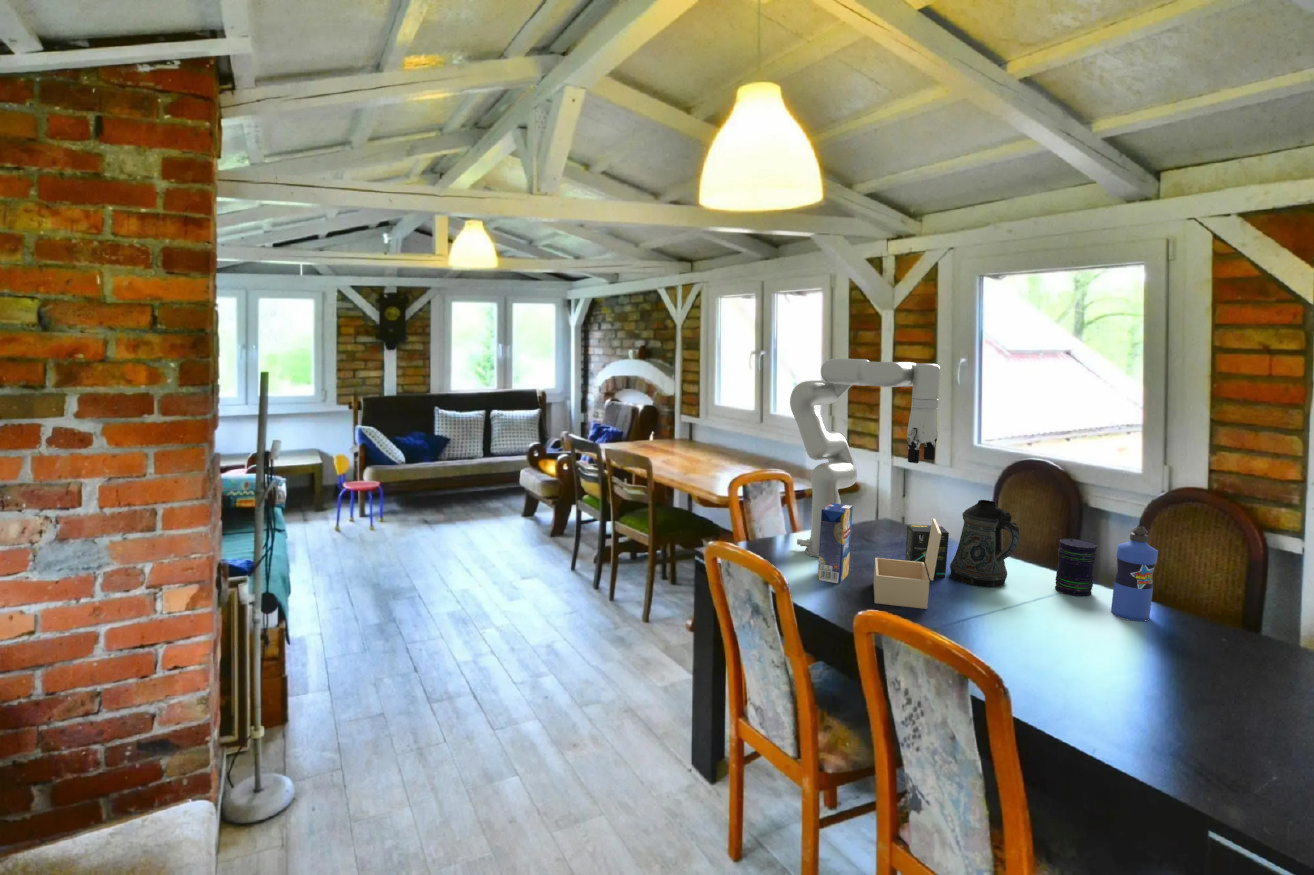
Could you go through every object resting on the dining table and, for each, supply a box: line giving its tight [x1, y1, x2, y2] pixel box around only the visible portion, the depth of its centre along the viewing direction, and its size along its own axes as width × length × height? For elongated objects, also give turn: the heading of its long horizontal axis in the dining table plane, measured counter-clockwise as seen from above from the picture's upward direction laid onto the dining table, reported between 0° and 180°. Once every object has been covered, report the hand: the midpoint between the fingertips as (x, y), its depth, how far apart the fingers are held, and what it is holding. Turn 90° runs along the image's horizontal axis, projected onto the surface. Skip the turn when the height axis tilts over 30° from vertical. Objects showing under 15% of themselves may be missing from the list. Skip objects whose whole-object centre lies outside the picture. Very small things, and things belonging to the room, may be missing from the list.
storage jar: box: [1054, 538, 1098, 598], centre depth 224 cm, size 10×10×15 cm
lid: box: [925, 518, 941, 581], centre depth 213 cm, size 13×18×1 cm
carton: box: [873, 557, 930, 610], centre depth 217 cm, size 14×18×8 cm
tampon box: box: [904, 524, 950, 578], centre depth 239 cm, size 11×9×15 cm
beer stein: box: [949, 499, 1022, 588], centre depth 232 cm, size 16×19×25 cm
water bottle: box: [1110, 525, 1159, 622], centre depth 205 cm, size 9×9×25 cm
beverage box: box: [817, 503, 854, 584], centre depth 231 cm, size 7×11×22 cm, turn 153°
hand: (921, 461), depth 227 cm, fingers open, 9 cm apart
